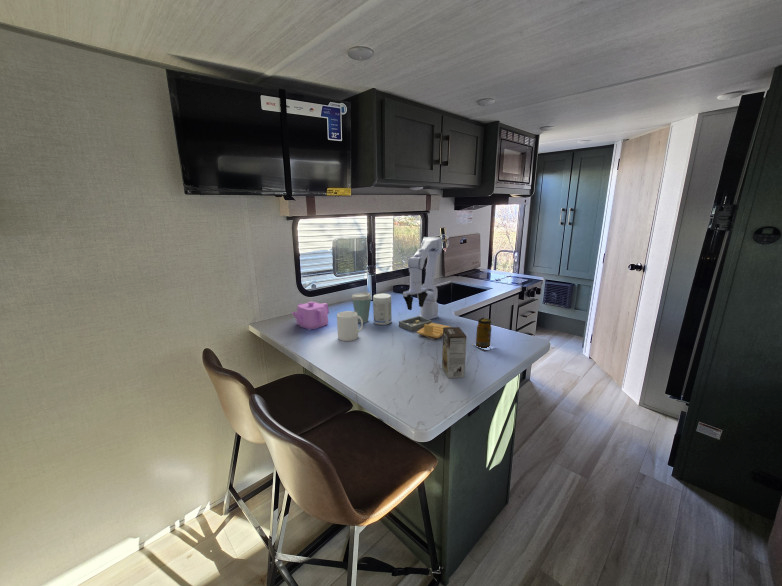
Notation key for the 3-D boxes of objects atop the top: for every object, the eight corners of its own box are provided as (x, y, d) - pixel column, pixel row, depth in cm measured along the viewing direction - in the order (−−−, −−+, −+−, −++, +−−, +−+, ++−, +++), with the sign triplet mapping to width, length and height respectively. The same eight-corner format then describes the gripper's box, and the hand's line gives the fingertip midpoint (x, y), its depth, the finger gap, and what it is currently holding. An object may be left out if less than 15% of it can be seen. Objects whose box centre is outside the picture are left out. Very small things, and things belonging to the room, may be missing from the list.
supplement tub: (384, 318, 182) (384, 292, 178) (395, 322, 175) (395, 296, 171) (370, 321, 176) (369, 295, 172) (380, 326, 169) (379, 299, 165)
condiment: (483, 341, 150) (485, 316, 147) (497, 348, 142) (499, 322, 139) (471, 344, 147) (472, 318, 144) (484, 351, 139) (485, 324, 136)
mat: (439, 327, 167) (439, 326, 167) (453, 332, 160) (453, 331, 160) (419, 333, 159) (419, 332, 159) (432, 339, 152) (432, 338, 152)
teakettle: (325, 330, 165) (324, 306, 162) (291, 330, 165) (289, 307, 162) (331, 319, 182) (329, 297, 179) (300, 319, 181) (298, 297, 178)
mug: (334, 337, 156) (332, 313, 153) (355, 331, 163) (354, 308, 160) (345, 343, 149) (343, 319, 146) (366, 336, 156) (366, 313, 153)
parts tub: (418, 320, 178) (419, 315, 177) (432, 325, 170) (432, 320, 170) (398, 326, 170) (398, 321, 169) (411, 331, 162) (411, 326, 161)
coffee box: (441, 366, 127) (442, 326, 123) (457, 365, 127) (459, 326, 123) (447, 378, 118) (448, 336, 114) (464, 377, 118) (467, 335, 114)
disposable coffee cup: (350, 323, 174) (349, 296, 170) (354, 317, 184) (353, 291, 180) (370, 324, 172) (369, 296, 169) (373, 317, 183) (372, 291, 179)
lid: (431, 325, 169) (431, 315, 167) (451, 329, 163) (451, 319, 161) (416, 334, 157) (416, 323, 155) (437, 339, 151) (438, 328, 149)
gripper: (421, 278, 168) (420, 303, 172) (399, 282, 160) (399, 309, 163) (430, 280, 163) (430, 306, 167) (408, 284, 154) (408, 312, 158)
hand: (415, 308), depth 165 cm, fingers open, 7 cm apart
